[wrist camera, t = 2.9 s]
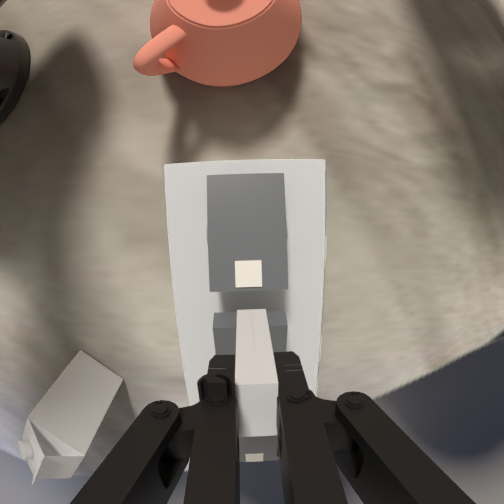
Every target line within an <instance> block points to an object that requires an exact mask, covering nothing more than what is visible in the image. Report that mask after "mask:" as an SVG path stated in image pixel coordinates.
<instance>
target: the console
mask: <svg viewBox="0 0 504 504" xmlns="http://www.w3.org/2000/svg"><path fill="white" fill-rule="evenodd" d="M164 172H165V195H166V212H167V228H168V241H169V253H170V264H171V275H172V285H173V294H174V303H175V311H176V320H177V327H178V335H179V342H180V349H181V356H182V363H183V369H184V376H185V382H186V388H187V394H188V400H189V405H190V406H192V405H194V404H196V403H198V402H199V394H198V387H197V382H198V380H199V378H201V377H202V376H203V375H206V374H207V372H208V365H209V361H210V360H211V358H212V357H213V356H214V355H215V344H214V336H213V317H214V313H222V312H237V310H247V309H266V311H279V310H285V313H286V318H287V324H288V330H287V345H286V352H287V351H293V352H294V353H296V354H297V355H298V356H299V358H300V361H301V365H302V368H303V371H304V374H305V378H306V381H307V384H308V388H309V389H310V390H311V391H313V393H314V394H315V396H317V386H318V380H317V378H318V367H319V360H320V353H321V341H322V336H321V329H322V313H323V295H324V272H325V265H326V171H325V160H320V159H257V160H225V161H204V162H188V163H174V164H164ZM253 173H284V185H285V206H286V223H287V230H288V238H287V258H288V289H283V290H258V291H226V292H210V288H209V262H208V244H207V235H206V228H207V175H223V174H253Z"/></svg>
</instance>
